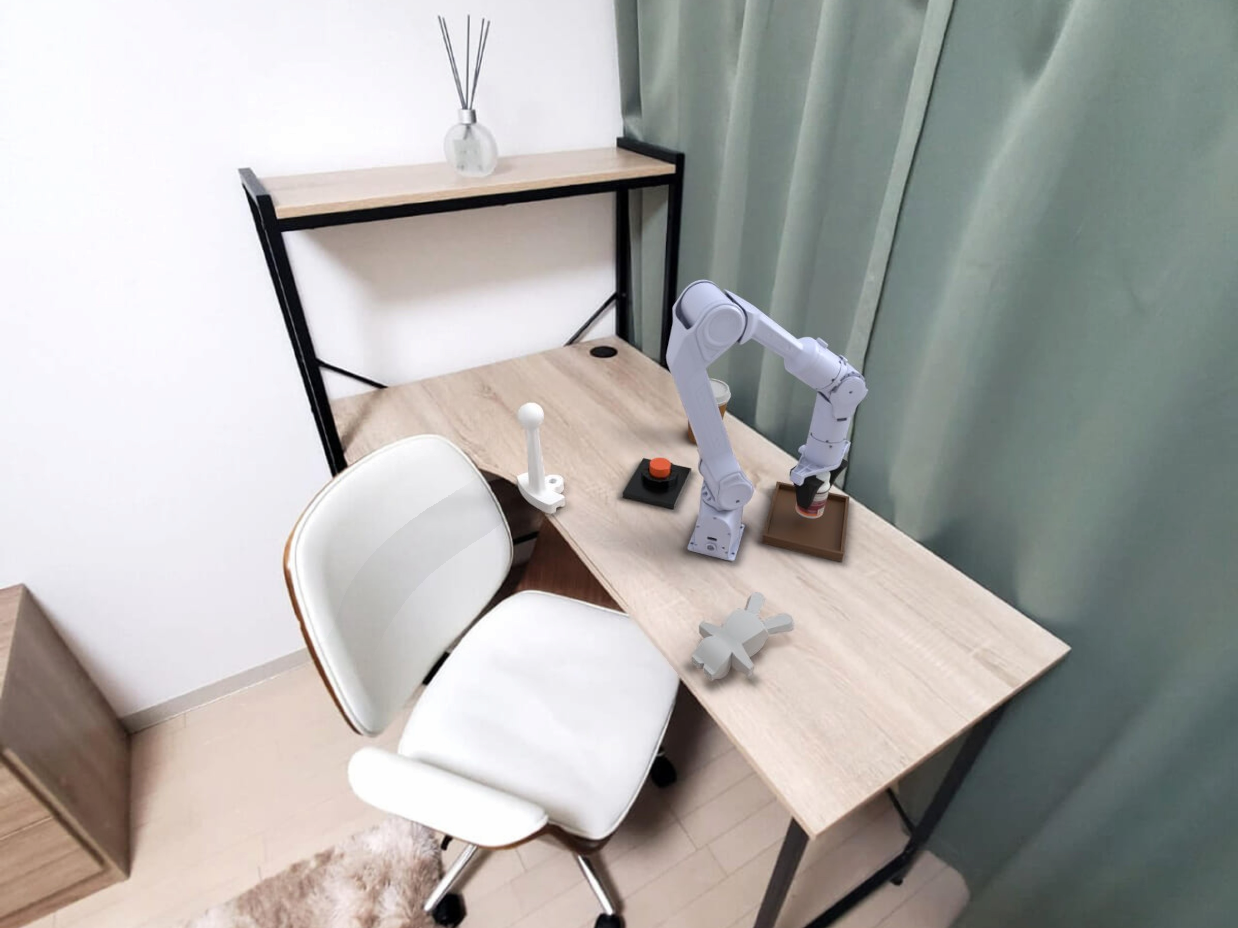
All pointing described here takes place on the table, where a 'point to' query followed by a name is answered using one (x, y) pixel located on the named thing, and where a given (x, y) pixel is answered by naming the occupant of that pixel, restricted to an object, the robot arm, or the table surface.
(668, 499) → the switch block
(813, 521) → the shallow brown tray
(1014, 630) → the table surface
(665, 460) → the power button
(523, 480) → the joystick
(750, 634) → the bunny figurine
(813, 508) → the pill bottle
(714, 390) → the disposable coffee cup
